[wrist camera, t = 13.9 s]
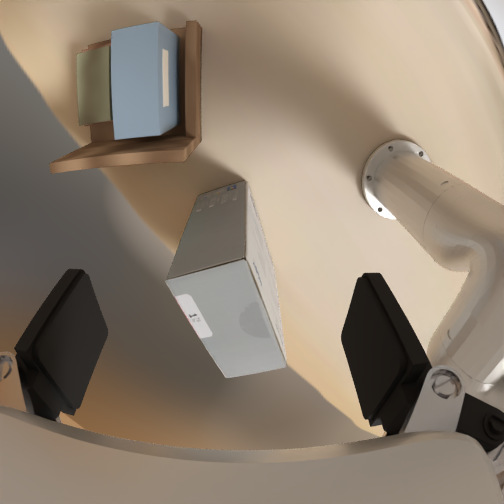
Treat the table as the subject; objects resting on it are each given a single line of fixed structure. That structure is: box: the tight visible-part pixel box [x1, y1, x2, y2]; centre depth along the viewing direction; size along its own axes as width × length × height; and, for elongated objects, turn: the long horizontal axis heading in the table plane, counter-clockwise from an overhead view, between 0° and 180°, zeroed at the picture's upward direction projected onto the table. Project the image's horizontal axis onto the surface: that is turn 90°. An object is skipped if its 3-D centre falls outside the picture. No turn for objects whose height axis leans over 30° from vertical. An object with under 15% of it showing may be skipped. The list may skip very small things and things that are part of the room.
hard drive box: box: [165, 181, 287, 378], centre depth 36 cm, size 16×8×20 cm, turn 17°
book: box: [111, 22, 181, 140], centre depth 28 cm, size 5×12×10 cm, turn 179°
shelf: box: [50, 21, 202, 173], centre depth 28 cm, size 16×16×12 cm
